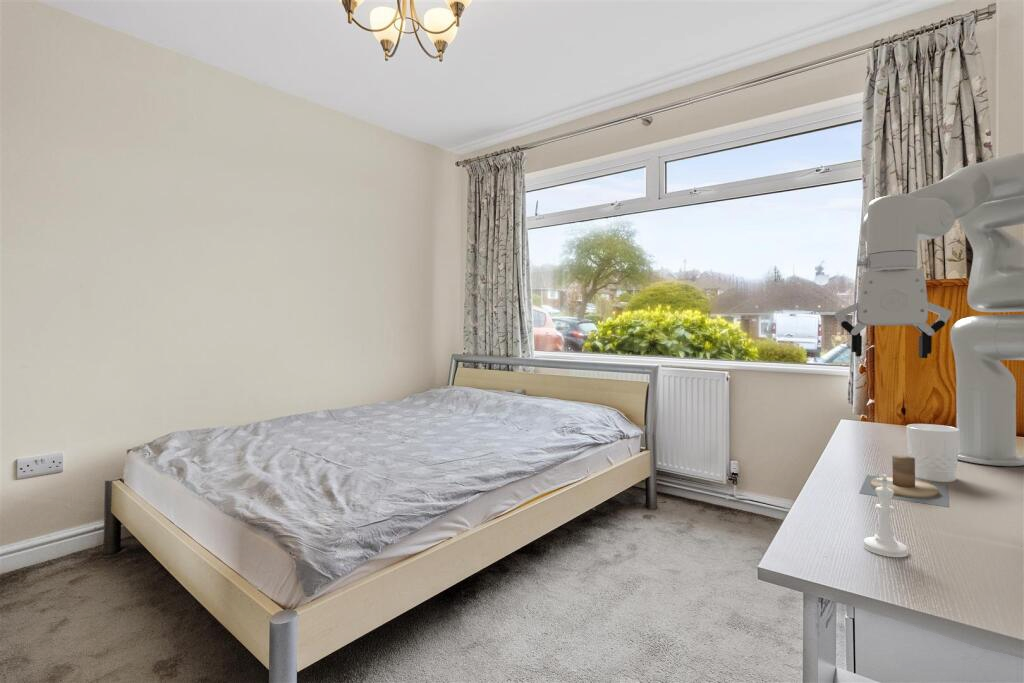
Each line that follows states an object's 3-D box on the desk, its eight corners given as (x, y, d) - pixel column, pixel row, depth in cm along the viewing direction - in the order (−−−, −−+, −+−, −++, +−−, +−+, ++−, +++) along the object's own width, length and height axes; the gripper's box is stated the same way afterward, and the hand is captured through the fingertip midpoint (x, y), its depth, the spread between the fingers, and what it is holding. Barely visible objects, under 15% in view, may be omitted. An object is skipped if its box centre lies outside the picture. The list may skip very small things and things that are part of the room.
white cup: (898, 476, 100) (897, 426, 100) (920, 471, 103) (920, 422, 103) (945, 486, 93) (945, 432, 93) (968, 480, 96) (968, 428, 96)
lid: (873, 478, 97) (873, 448, 97) (938, 487, 91) (938, 455, 91) (868, 491, 90) (868, 458, 90) (939, 501, 84) (938, 467, 84)
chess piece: (864, 538, 71) (863, 468, 71) (909, 547, 68) (908, 473, 68) (860, 551, 67) (860, 476, 67) (907, 561, 64) (907, 482, 64)
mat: (866, 476, 100) (866, 474, 100) (946, 487, 92) (946, 485, 92) (859, 495, 89) (859, 493, 89) (949, 509, 81) (949, 507, 81)
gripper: (837, 264, 94) (835, 356, 94) (958, 258, 85) (956, 359, 85) (834, 269, 100) (833, 355, 100) (946, 264, 92) (945, 358, 92)
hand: (889, 357), depth 93 cm, fingers open, 9 cm apart
